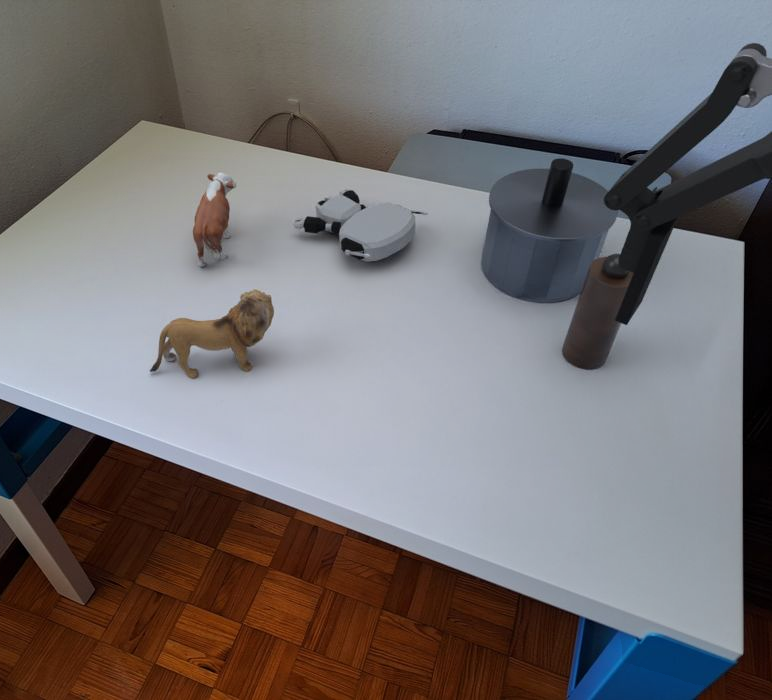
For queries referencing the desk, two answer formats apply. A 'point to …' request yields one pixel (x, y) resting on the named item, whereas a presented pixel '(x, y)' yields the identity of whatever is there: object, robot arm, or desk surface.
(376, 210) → the robot toy
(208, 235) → the bull figurine
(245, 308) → the lion figurine
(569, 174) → the pot lid
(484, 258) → the pot
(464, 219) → the desk surface
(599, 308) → the pepper mill
